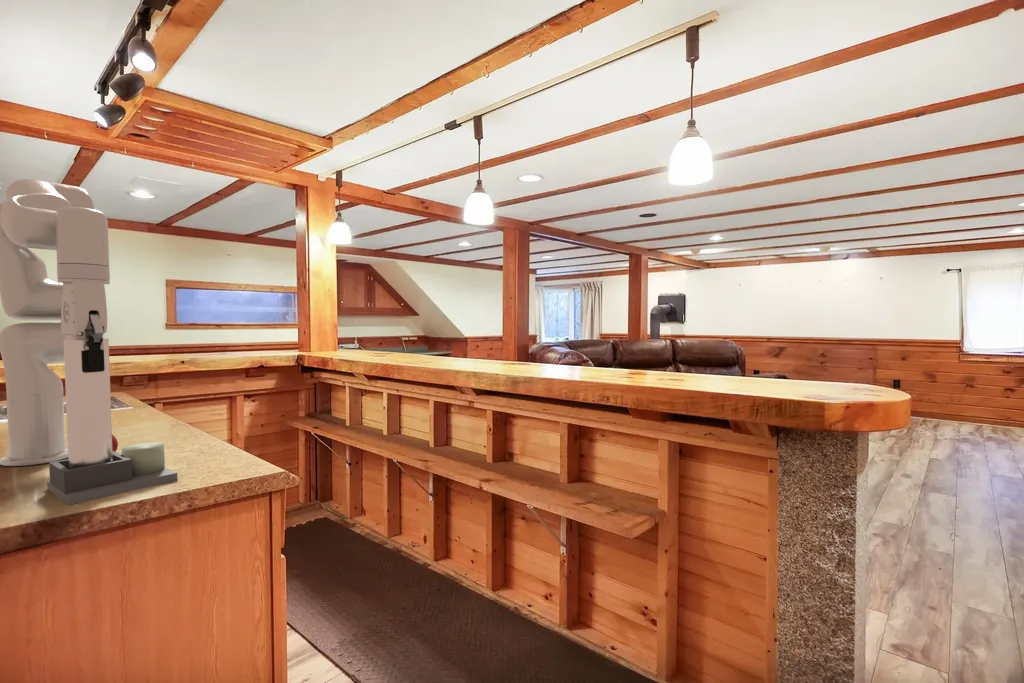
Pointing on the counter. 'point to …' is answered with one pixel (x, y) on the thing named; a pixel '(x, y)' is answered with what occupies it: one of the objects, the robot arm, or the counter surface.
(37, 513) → the counter surface
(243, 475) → the counter surface
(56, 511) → the counter surface
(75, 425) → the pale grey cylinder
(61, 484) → the grey desk organizer
